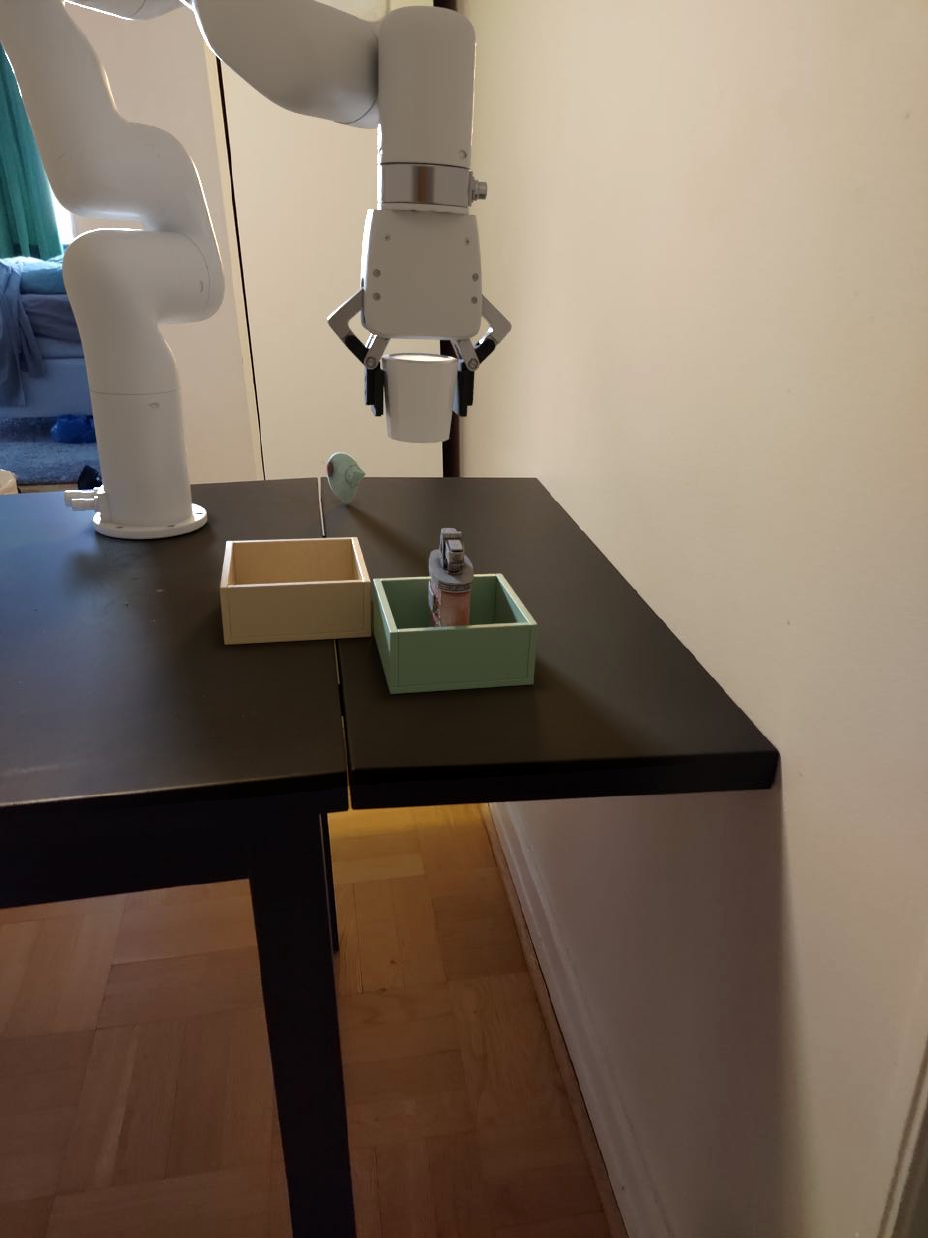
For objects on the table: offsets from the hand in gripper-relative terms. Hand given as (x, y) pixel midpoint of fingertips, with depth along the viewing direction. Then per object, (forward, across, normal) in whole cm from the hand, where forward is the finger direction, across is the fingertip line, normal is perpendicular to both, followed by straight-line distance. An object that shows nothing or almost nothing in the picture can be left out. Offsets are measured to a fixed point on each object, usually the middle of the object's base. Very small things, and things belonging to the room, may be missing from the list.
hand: (418, 412), depth 77 cm
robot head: (+18, +4, -32) cm, 37 cm away
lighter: (+17, 0, +15) cm, 23 cm away
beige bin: (+17, +12, +4) cm, 21 cm away
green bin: (+17, 0, +15) cm, 23 cm away
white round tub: (+2, 0, 0) cm, 2 cm away
